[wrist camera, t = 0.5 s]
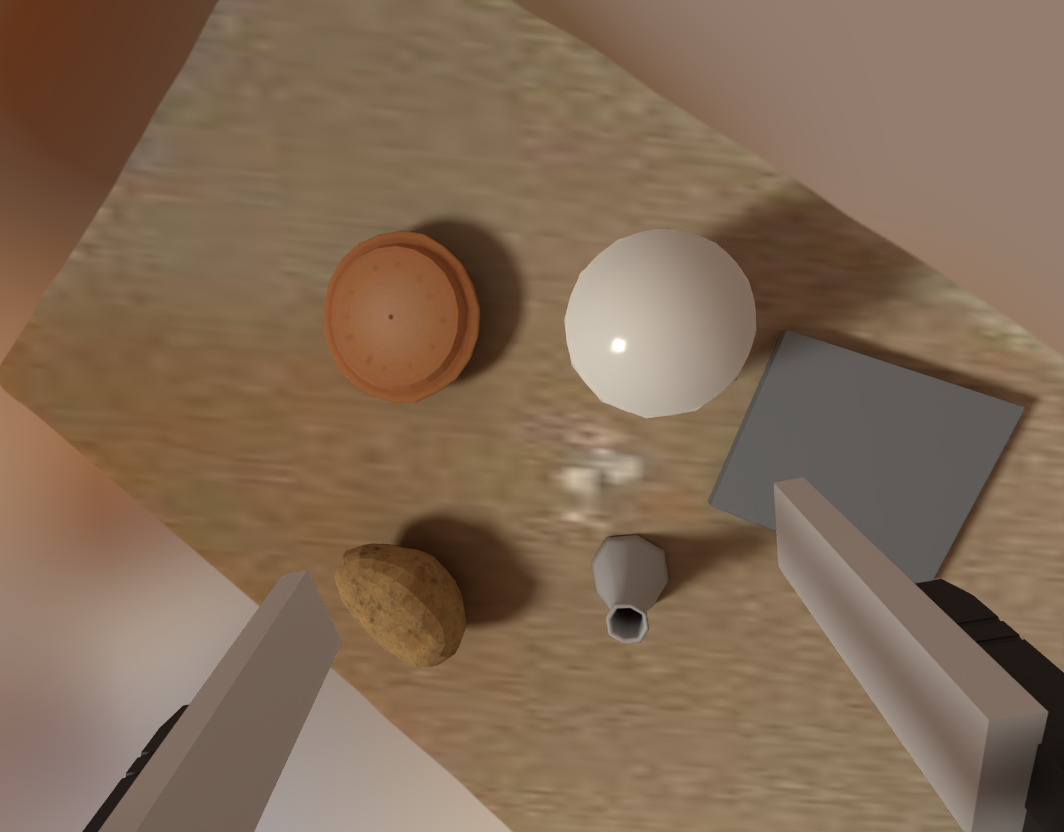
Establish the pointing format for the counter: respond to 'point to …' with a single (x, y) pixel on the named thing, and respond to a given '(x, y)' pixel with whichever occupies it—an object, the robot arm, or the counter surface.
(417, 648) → the potato
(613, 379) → the white cylinder
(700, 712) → the counter surface
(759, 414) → the slate board
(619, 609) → the flask
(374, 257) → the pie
